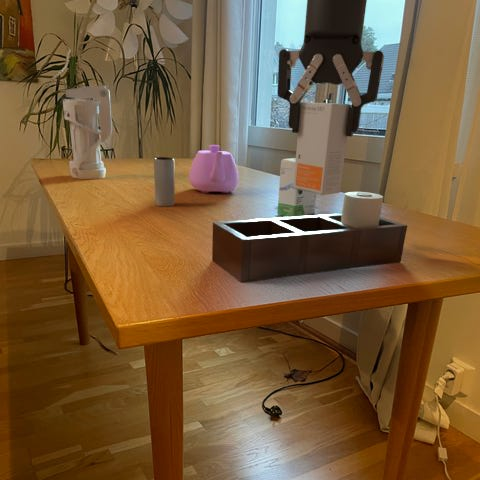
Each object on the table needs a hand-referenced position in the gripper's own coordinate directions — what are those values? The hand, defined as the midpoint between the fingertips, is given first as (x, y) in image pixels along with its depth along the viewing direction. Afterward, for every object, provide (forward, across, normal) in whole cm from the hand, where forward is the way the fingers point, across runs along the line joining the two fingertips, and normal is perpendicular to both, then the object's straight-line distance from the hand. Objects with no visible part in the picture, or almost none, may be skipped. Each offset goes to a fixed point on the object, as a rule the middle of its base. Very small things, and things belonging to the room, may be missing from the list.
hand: (322, 134), depth 67 cm
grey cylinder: (+19, -40, +28) cm, 52 cm away
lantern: (+19, -78, +54) cm, 97 cm away
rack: (+19, 0, 0) cm, 19 cm away
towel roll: (+19, +6, +6) cm, 21 cm away
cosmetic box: (+8, 0, 0) cm, 8 cm away
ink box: (+19, -10, +34) cm, 40 cm away
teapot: (+19, -37, +51) cm, 66 cm away
